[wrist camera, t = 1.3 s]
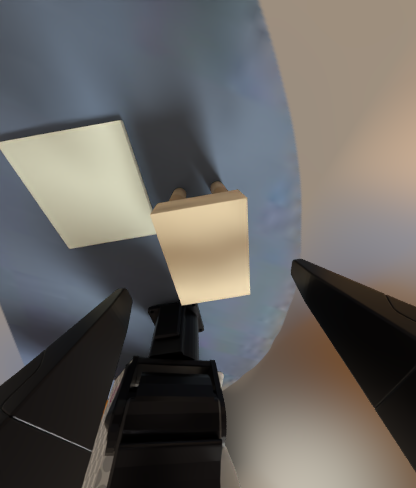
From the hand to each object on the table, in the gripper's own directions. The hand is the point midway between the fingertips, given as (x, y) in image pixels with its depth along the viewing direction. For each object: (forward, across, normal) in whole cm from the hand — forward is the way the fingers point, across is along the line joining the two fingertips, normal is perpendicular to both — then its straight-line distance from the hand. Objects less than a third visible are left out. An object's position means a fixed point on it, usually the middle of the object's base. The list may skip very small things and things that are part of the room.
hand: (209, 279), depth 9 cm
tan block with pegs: (+8, 0, 0) cm, 9 cm away
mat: (+8, +9, -4) cm, 13 cm away
